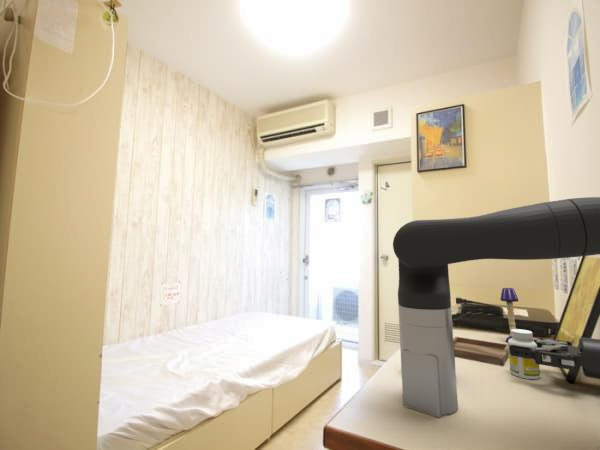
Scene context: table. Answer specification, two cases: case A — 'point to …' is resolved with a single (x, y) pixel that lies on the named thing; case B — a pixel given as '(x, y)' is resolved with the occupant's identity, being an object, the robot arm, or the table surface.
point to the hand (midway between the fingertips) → (512, 345)
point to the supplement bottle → (518, 364)
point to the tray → (481, 350)
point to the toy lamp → (509, 306)
